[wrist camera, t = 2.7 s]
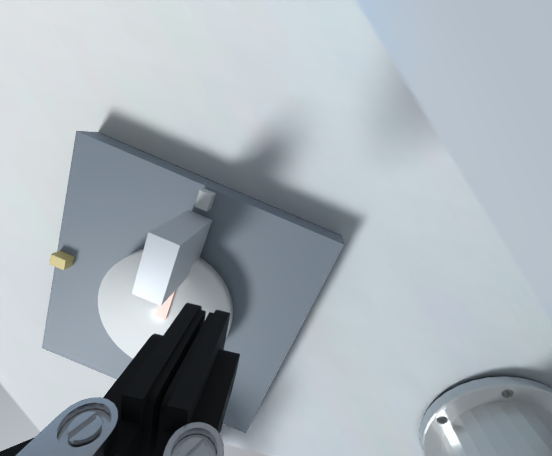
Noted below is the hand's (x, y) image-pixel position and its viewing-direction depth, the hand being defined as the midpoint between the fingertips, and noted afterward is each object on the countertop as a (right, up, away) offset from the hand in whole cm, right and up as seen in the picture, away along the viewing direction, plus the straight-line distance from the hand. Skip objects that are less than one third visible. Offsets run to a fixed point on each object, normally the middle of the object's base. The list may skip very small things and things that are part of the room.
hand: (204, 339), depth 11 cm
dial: (-5, -1, +11) cm, 12 cm away
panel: (-5, -1, +14) cm, 15 cm away
